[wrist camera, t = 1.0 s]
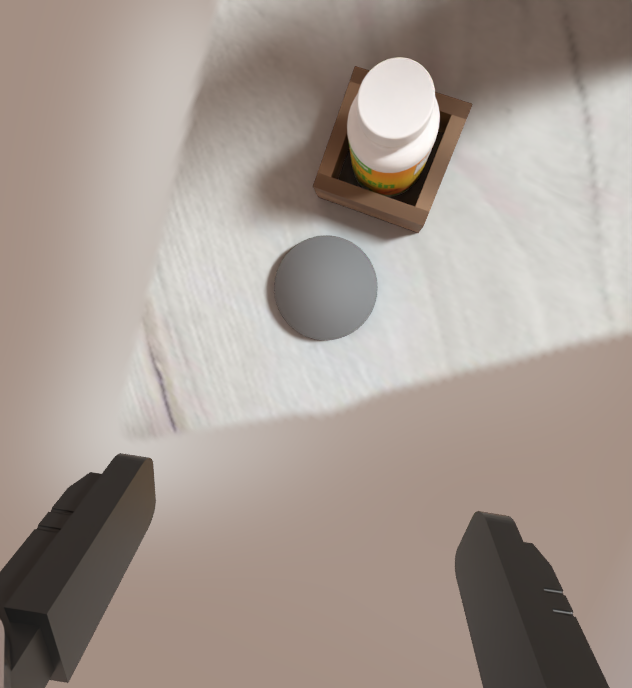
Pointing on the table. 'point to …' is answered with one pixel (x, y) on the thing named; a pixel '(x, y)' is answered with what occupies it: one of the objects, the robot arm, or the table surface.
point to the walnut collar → (374, 203)
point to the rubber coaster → (325, 287)
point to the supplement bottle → (392, 126)
